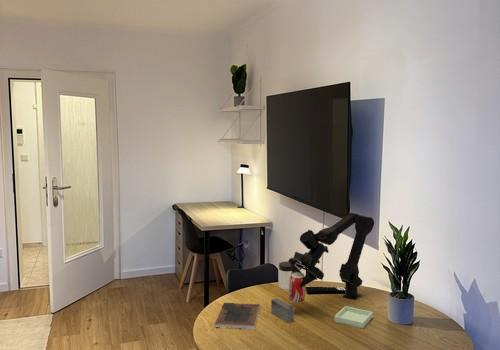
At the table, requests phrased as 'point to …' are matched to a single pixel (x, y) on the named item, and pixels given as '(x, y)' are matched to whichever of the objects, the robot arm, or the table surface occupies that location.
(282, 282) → the jar
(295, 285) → the soda can
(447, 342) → the table surface
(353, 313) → the tray
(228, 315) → the picture frame
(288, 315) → the grey rectangular block
